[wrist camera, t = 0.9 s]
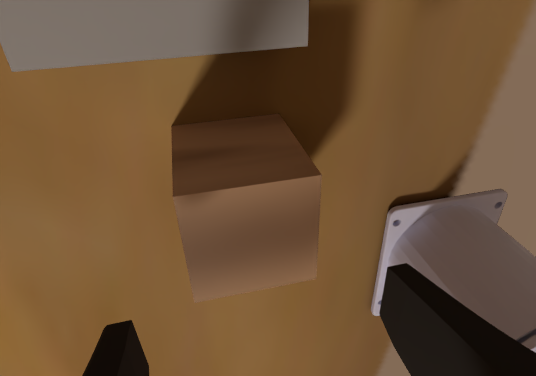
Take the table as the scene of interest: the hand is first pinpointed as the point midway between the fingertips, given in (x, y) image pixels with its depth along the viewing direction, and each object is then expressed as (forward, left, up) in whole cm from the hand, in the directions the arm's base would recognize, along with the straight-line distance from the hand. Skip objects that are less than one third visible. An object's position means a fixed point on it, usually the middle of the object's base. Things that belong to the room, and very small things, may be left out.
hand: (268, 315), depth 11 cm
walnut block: (0, 0, -10) cm, 10 cm away
